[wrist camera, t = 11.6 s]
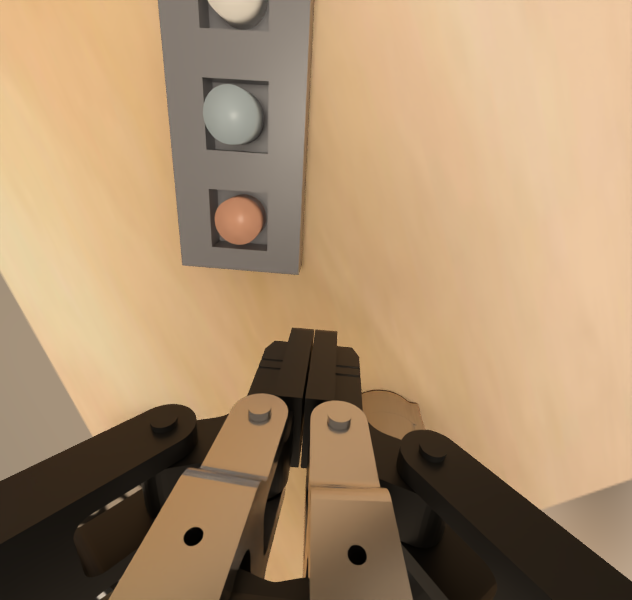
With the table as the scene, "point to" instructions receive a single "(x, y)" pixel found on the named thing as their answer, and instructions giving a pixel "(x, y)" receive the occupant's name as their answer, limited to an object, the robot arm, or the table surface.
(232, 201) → the terracotta button
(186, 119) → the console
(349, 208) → the table surface
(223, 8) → the offwhite button
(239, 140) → the slate button
